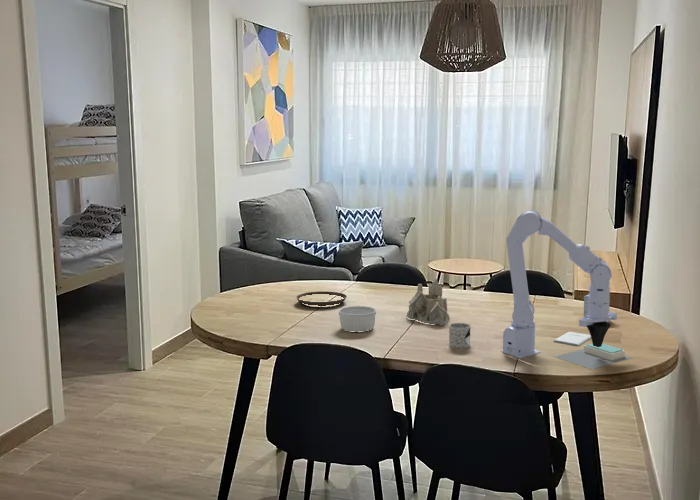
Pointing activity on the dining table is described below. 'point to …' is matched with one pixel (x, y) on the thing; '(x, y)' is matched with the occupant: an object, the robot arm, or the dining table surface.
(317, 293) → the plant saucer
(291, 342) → the dining table surface
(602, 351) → the slab
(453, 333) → the mug
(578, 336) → the external hard drive
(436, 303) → the ceramic cottage
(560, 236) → the robot arm
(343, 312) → the ramekin
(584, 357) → the mat
